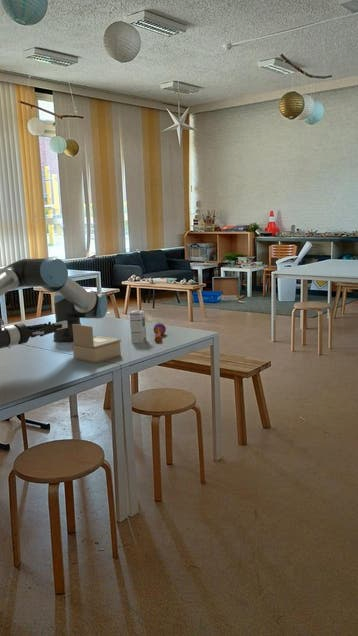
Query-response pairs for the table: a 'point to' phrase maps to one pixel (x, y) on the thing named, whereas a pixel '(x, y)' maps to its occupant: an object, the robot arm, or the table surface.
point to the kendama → (159, 332)
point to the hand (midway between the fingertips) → (66, 324)
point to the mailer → (97, 353)
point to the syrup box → (137, 326)
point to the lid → (89, 337)
